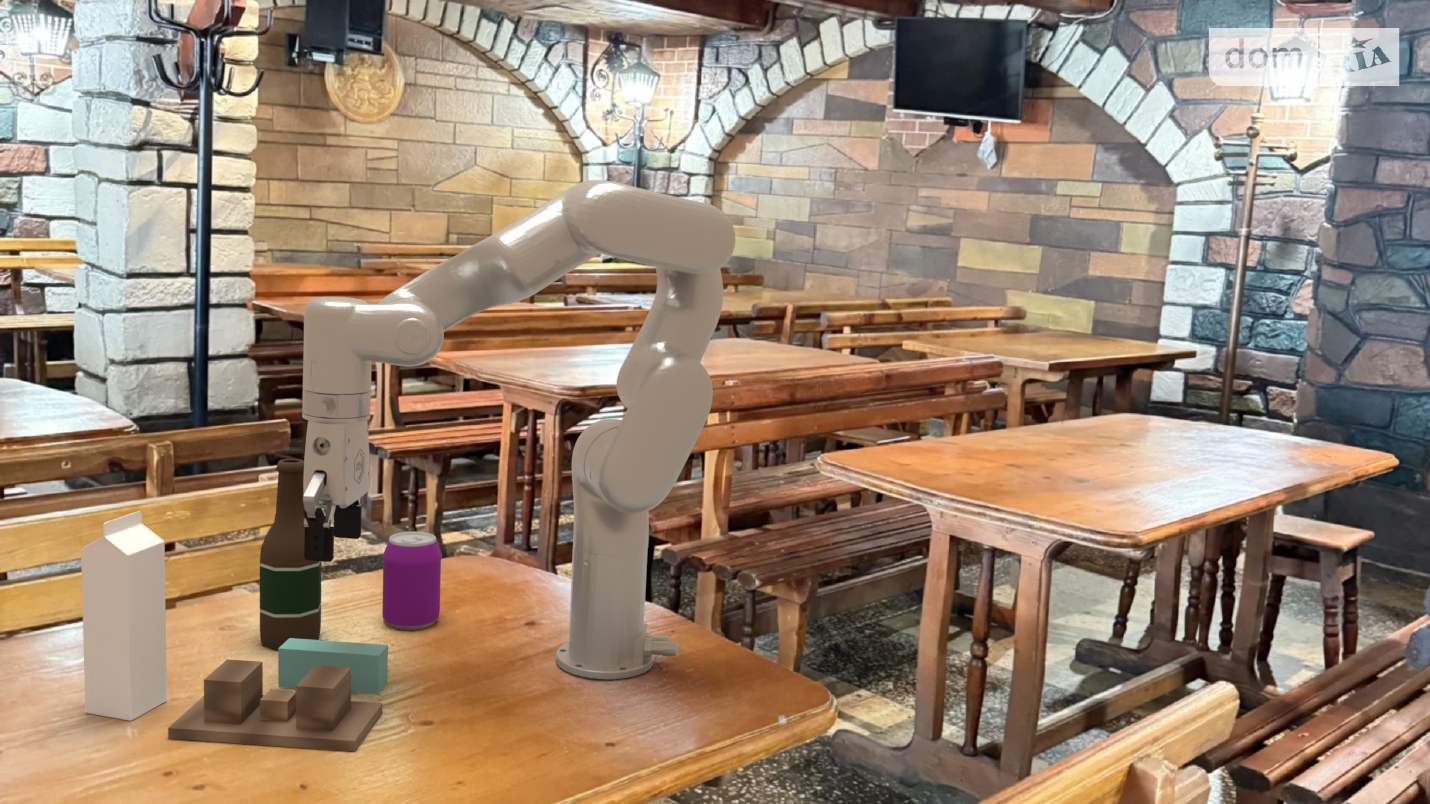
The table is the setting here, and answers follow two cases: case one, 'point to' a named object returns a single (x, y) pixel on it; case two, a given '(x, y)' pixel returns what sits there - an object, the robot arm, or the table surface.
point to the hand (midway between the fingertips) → (333, 548)
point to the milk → (124, 620)
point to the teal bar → (334, 662)
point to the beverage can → (411, 580)
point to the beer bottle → (288, 567)
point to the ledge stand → (278, 710)
